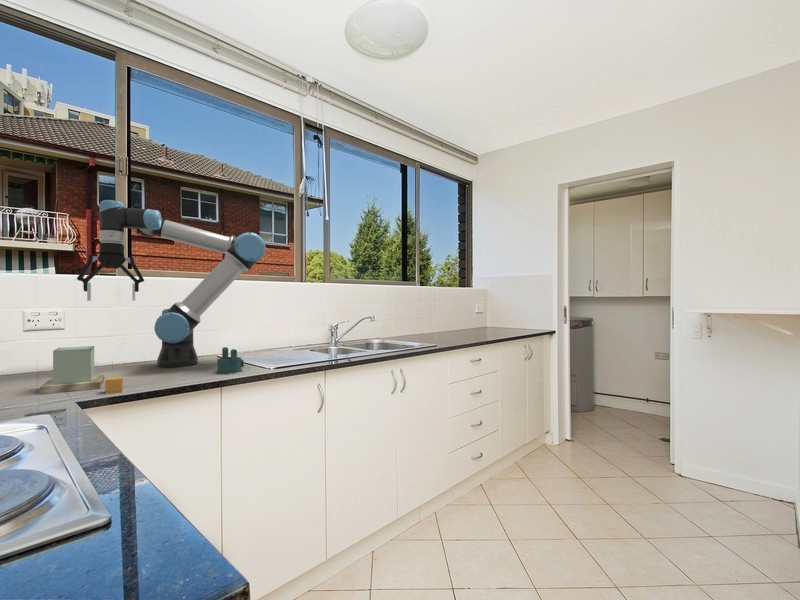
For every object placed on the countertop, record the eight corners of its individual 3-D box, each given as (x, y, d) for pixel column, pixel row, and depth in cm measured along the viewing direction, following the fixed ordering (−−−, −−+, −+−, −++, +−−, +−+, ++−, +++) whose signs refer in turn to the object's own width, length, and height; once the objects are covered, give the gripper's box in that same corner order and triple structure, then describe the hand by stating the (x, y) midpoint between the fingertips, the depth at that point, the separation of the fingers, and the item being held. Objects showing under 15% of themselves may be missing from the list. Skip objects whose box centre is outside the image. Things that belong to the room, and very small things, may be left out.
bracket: (234, 374, 150) (234, 349, 150) (211, 373, 152) (211, 349, 152) (247, 370, 159) (247, 347, 159) (225, 369, 161) (225, 346, 161)
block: (122, 389, 125) (122, 376, 125) (121, 392, 121) (122, 378, 121) (106, 391, 123) (106, 377, 123) (105, 393, 119) (105, 380, 119)
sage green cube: (94, 376, 134) (94, 346, 134) (90, 381, 127) (90, 348, 127) (58, 379, 130) (58, 347, 130) (53, 384, 122) (53, 350, 122)
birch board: (104, 380, 138) (104, 374, 138) (100, 388, 126) (99, 382, 126) (50, 385, 131) (50, 379, 131) (39, 394, 119) (39, 387, 119)
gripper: (67, 239, 143) (67, 300, 143) (151, 244, 156) (151, 300, 156) (70, 242, 150) (70, 300, 150) (151, 246, 163) (151, 300, 163)
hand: (111, 300), depth 153 cm, fingers open, 13 cm apart
